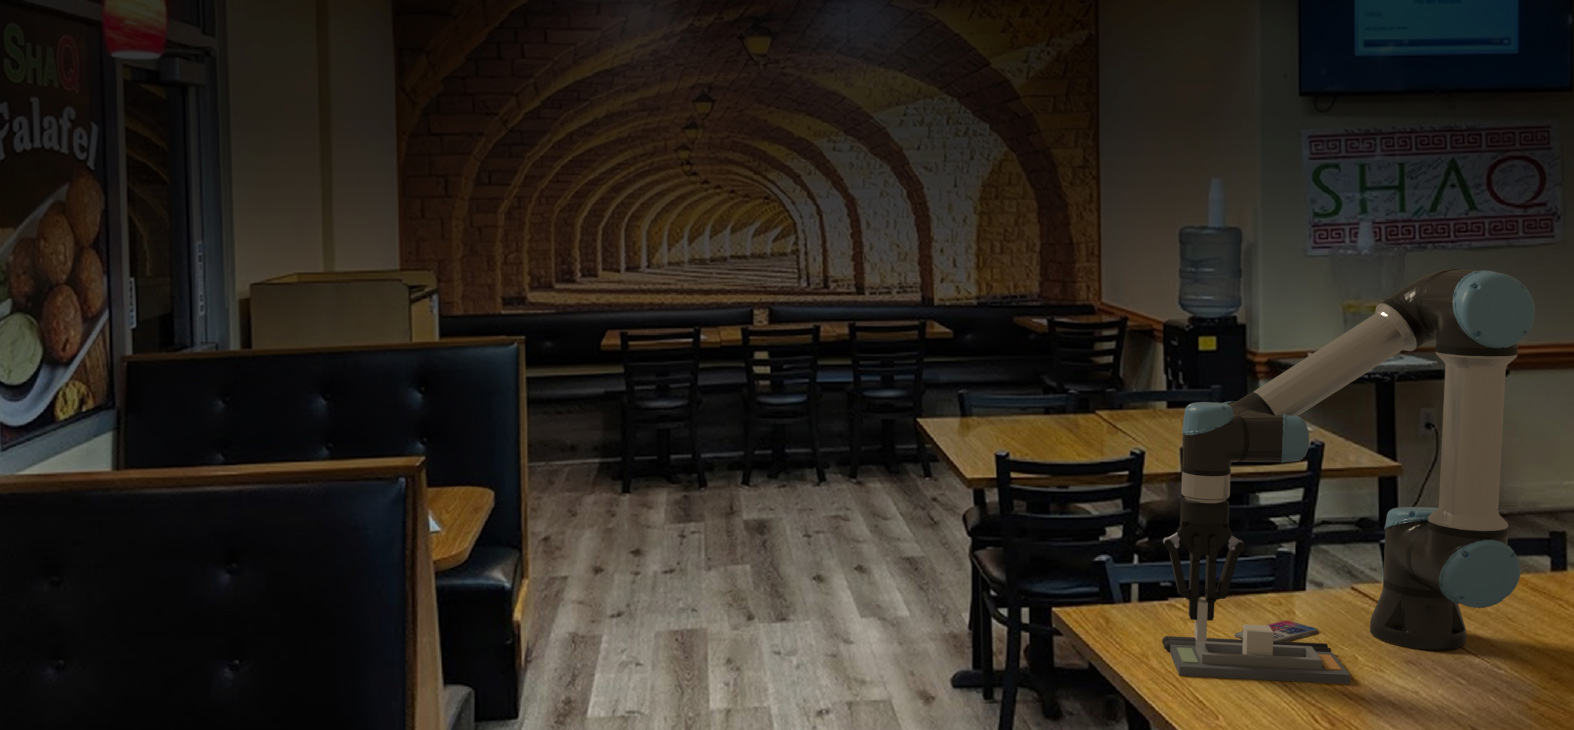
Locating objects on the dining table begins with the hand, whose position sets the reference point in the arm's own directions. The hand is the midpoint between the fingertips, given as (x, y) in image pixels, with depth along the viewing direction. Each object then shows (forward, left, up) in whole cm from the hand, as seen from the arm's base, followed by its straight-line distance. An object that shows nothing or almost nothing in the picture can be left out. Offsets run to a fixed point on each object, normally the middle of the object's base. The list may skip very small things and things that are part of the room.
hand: (1200, 638), depth 209 cm
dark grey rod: (-9, -9, -5) cm, 14 cm away
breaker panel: (-9, 0, -5) cm, 10 cm away
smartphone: (-16, -19, -5) cm, 25 cm away
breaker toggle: (-9, 0, -3) cm, 9 cm away
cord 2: (-9, -7, -5) cm, 12 cm away
